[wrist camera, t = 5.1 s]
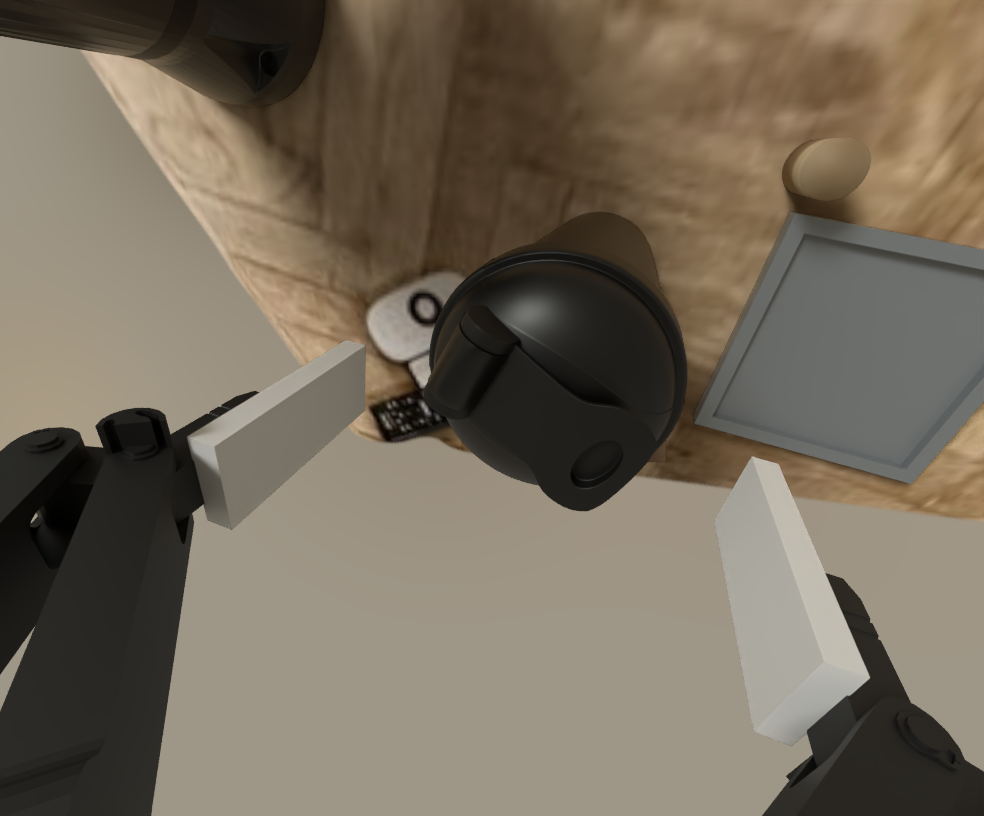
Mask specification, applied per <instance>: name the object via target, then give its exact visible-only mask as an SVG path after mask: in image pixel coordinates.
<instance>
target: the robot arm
mask: <svg viewBox="0 0 984 816" xmlns="http://www.w3.org/2000/svg"><path fill="white" fill-rule="evenodd" d="M324 3H325V0H0V36H4V37H10V38H16V39H22V40H28V41H34V42H40V43H47V44H52V45H58V46H64V47H70V48H76V49H82V50H88V51H94V52H100V53H106V54H112V55H120V56H125V57H130V58H135V59H140V60H143V61H144V62H146V63H148V64H150V65H151V66H153V67H155V68H157V69H158V70H160V71H162V72H164V73H165V74H167V75H169V76H171V77H172V78H174V79H176V80H178V81H179V82H181V83H183V84H185V85H186V86H188V87H190V88H192V89H193V90H195V91H197V92H199V93H200V94H202V95H204V96H207V97H209V98H211V99H214V100H217V101H220V102H224V103H228V104H236V105H244V106H256V107H257V106H266V105H270V104H273V103H276V102H278V101H280V100H282V99H284V98H285V97H287V96H288V95H289V94H291V93H292V92H293V91H294V90H295V89H296V88H297V87H298V86H299V85H300V83H301V82H302V81H303V79H304V78H305V76H306V75H307V73H308V71H309V69H310V67H311V65H312V63H313V61H314V58H315V55H316V52H317V49H318V46H319V42H320V38H321V33H322V27H323V19H324ZM365 352H366V345H362V344H359V343H355V342H352V341H348V340H345V341H344V342H342V343H340V344H339V345H337V346H335V347H334V348H332V349H331V350H329V351H327V352H326V353H324V354H322V355H321V356H319V357H317V358H316V359H314V360H312V361H311V362H309V363H307V364H306V365H304V366H303V367H301V368H299V369H298V370H296V371H294V372H293V373H291V374H289V375H288V376H286V377H285V378H283V379H281V380H279V381H278V382H276V383H275V384H273V385H271V386H270V387H268V388H266V389H265V390H263V391H261V392H257V391H253V392H249V393H246V394H243V395H239V396H236V397H234V398H233V399H231V400H229V401H228V402H226V403H224V404H222V406H221V407H217V408H215V409H214V410H212V411H210V413H209V414H205V415H203V416H202V417H200V418H198V419H197V420H195V421H193V422H191V423H190V424H188V425H186V426H185V427H183V428H181V429H179V430H178V431H176V432H174V433H173V434H171V435H170V431H169V428H168V424H167V420H166V417H165V415H164V414H163V413H162V412H161V411H159V410H155V409H151V408H133V409H127V410H122V411H119V412H116V413H113V414H111V415H109V416H107V417H105V418H103V419H102V420H101V421H100V422H99V423H98V424H97V425H96V426H95V427H96V429H97V432H98V435H99V437H100V440H101V442H102V445H103V448H101V447H100V448H99V447H89V446H85V445H84V443H83V440H82V438H81V435H80V433H79V432H78V431H76V430H74V429H70V428H63V427H60V428H46V429H42V430H36V431H33V432H31V433H28V434H26V435H23V436H21V437H19V438H17V439H16V440H14V441H13V442H11V443H10V444H8V445H7V446H6V447H5V448H4V449H3V450H1V451H0V674H1V673H2V671H3V670H4V668H5V667H6V666H7V664H8V663H9V661H10V660H11V659H12V657H13V656H14V655H15V653H16V652H17V650H18V649H19V648H20V646H21V645H22V643H23V642H24V641H25V639H26V638H27V636H28V635H29V633H30V632H31V631H32V629H33V628H34V627H35V628H34V631H33V633H32V636H31V638H30V641H29V643H28V645H27V648H26V650H25V653H24V655H23V658H22V660H21V662H20V665H19V667H18V670H17V672H16V674H15V677H14V679H13V682H12V684H11V687H10V689H9V691H8V694H7V696H6V699H5V701H4V704H3V706H2V709H1V711H0V816H151V812H152V804H153V797H154V791H155V784H156V777H157V770H158V763H159V756H160V749H161V743H162V736H163V729H164V722H165V716H166V709H167V702H168V695H169V689H170V682H171V675H172V669H173V668H172V667H173V662H174V655H175V648H176V641H177V635H178V628H179V621H180V614H181V607H182V601H183V593H184V587H185V579H186V573H187V567H188V560H189V553H190V546H191V539H192V532H193V526H194V520H193V515H192V513H193V512H194V511H195V510H197V509H198V508H199V507H200V506H202V505H203V504H204V508H205V512H206V516H207V520H208V521H210V522H213V523H216V524H218V525H221V526H223V527H226V528H229V529H231V530H232V529H233V528H235V527H236V526H237V525H238V524H239V523H240V522H241V521H242V520H243V519H245V518H246V517H247V516H248V515H249V514H250V513H251V512H252V511H253V510H255V509H256V508H257V507H258V506H259V505H260V504H261V503H262V502H263V501H265V500H266V499H267V498H268V497H269V496H270V495H271V494H272V493H273V492H275V491H276V490H277V489H278V488H279V487H280V486H281V485H282V484H283V483H284V482H286V481H287V480H288V479H289V478H290V477H291V476H292V475H293V474H295V473H296V472H297V471H298V470H299V469H300V468H301V467H302V466H304V465H305V464H306V463H307V462H308V461H309V460H310V459H311V458H312V457H314V456H315V455H316V454H317V453H318V452H319V451H320V450H321V449H323V448H324V447H325V446H326V445H327V444H328V443H329V442H330V441H331V440H333V439H334V438H335V437H336V436H337V435H338V434H339V433H340V432H341V431H342V430H344V429H345V428H346V427H347V426H348V425H349V424H350V423H352V422H353V421H354V420H355V419H356V418H357V417H358V416H359V415H360V414H362V413H363V412H364V411H365ZM35 513H37V515H38V517H37V518H36V519H35V520H34V521H33V522H32V523H31V520H32V518H33V517H34V515H35ZM714 522H715V527H716V533H717V538H718V544H719V549H720V554H721V560H722V565H723V570H724V576H725V581H726V586H727V592H728V597H729V602H730V608H731V613H732V619H733V624H734V629H735V634H736V640H737V645H738V651H739V656H740V661H741V667H742V672H743V678H744V683H745V688H746V693H747V698H748V704H749V709H750V715H751V721H752V725H753V731H754V732H756V733H758V734H761V735H763V736H766V737H769V738H771V739H774V740H777V741H779V742H782V743H784V744H787V745H790V746H793V745H794V744H795V743H796V742H797V741H798V740H799V739H801V738H802V737H803V736H804V735H805V734H806V733H807V734H808V738H809V741H810V745H811V749H812V752H813V755H812V756H810V757H809V758H808V759H807V760H805V761H804V762H803V763H802V764H800V765H799V766H798V767H797V768H795V769H794V770H793V771H792V772H791V773H789V774H788V775H787V776H786V777H787V778H788V779H789V780H790V781H789V782H788V783H787V784H786V786H785V787H784V788H783V790H782V791H781V792H780V793H779V795H778V796H777V797H776V799H775V800H774V801H773V802H772V804H771V805H770V806H769V808H768V809H767V810H766V811H765V813H764V814H763V815H762V816H984V772H983V771H982V770H980V769H979V768H977V767H975V766H974V765H972V764H970V763H969V762H967V761H966V760H965V759H964V757H963V755H962V752H961V750H960V748H959V747H958V745H957V744H956V743H955V741H954V740H953V739H952V737H951V736H950V735H949V733H948V732H947V731H946V730H945V729H944V728H943V727H942V726H941V725H940V724H939V723H938V722H937V721H936V720H935V719H934V718H932V716H930V715H929V714H927V713H926V712H924V711H923V710H921V709H920V708H919V707H917V706H916V705H914V704H912V703H911V702H910V700H909V698H908V696H907V694H906V692H905V690H904V687H903V685H902V683H901V681H900V680H899V677H898V675H897V673H896V671H895V669H894V667H893V665H892V663H891V661H890V659H889V657H888V655H887V652H886V650H885V648H884V646H883V644H882V642H881V641H880V640H878V637H879V636H878V634H877V632H876V630H875V628H874V626H873V624H872V623H870V617H869V615H868V613H867V611H866V609H865V607H864V605H863V603H862V601H861V599H860V598H859V597H858V595H857V594H856V593H855V592H854V591H853V590H852V589H851V588H850V586H849V585H848V584H847V583H846V582H845V581H844V579H842V578H839V577H836V576H833V575H830V574H826V573H825V572H824V569H823V567H822V565H821V562H820V560H819V558H818V555H817V553H816V551H815V548H814V546H813V544H812V541H811V539H810V537H809V534H808V532H807V530H806V527H805V525H804V523H803V520H802V518H801V516H800V513H799V511H798V509H797V507H796V504H795V502H794V499H793V497H792V495H791V492H790V490H789V488H788V485H787V483H786V481H785V478H784V476H783V474H782V472H781V469H780V467H779V465H778V464H776V463H773V462H769V461H766V460H763V459H759V458H756V457H751V459H750V460H749V462H748V464H747V465H746V467H745V469H744V471H743V472H742V474H741V476H740V477H739V479H738V481H737V482H736V484H735V486H734V488H733V489H732V491H731V493H730V494H729V496H728V498H727V499H726V501H725V503H724V505H723V506H722V508H721V510H720V512H719V513H718V515H717V516H716V518H715V520H714ZM35 625H36V626H35Z"/></svg>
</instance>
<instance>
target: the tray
mask: <svg viewBox="0 0 984 816" xmlns="http://www.w3.org/2000/svg"><path fill="white" fill-rule="evenodd" d="M983 402H984V249H981V248H976V247H971V246H966V245H961V244H956V243H951V242H945V241H940V240H935V239H930V238H925V237H920V236H915V235H910V234H904V233H899V232H894V231H889V230H884V229H879V228H874V227H869V226H864V225H858V224H853V223H848V222H843V221H838V220H833V219H828V218H823V217H817V216H812V215H807V214H802V213H797V212H792V211H790V212H789V214H788V216H787V218H786V221H785V223H784V225H783V227H782V229H781V231H780V233H779V235H778V237H777V240H776V242H775V244H774V246H773V248H772V250H771V252H770V254H769V256H768V259H767V261H766V263H765V265H764V267H763V269H762V271H761V273H760V275H759V277H758V280H757V282H756V284H755V286H754V288H753V290H752V292H751V294H750V296H749V299H748V301H747V303H746V305H745V307H744V309H743V311H742V313H741V315H740V317H739V320H738V322H737V324H736V326H735V328H734V330H733V332H732V334H731V336H730V339H729V341H728V343H727V345H726V347H725V349H724V351H723V353H722V355H721V358H720V360H719V362H718V364H717V366H716V368H715V370H714V372H713V374H712V376H711V379H710V381H709V383H708V385H707V387H706V389H705V391H704V393H703V395H702V398H701V400H700V402H699V404H698V406H697V408H696V410H695V412H694V414H693V419H694V424H698V425H701V426H705V427H708V428H712V429H716V430H719V431H723V432H726V433H730V434H734V435H737V436H741V437H744V438H748V439H751V440H755V441H759V442H762V443H766V444H769V445H773V446H777V447H780V448H784V449H787V450H791V451H795V452H798V453H802V454H805V455H809V456H812V457H816V458H820V459H823V460H827V461H830V462H834V463H838V464H841V465H845V466H848V467H852V468H856V469H859V470H863V471H866V472H870V473H874V474H877V475H881V476H884V477H888V478H891V479H895V480H899V481H902V482H906V483H909V484H912V483H913V482H914V481H915V479H916V478H917V477H918V476H919V475H920V474H921V473H922V471H923V470H924V469H925V468H926V467H927V466H928V465H929V463H930V462H931V461H932V460H933V459H934V458H935V457H936V455H937V454H938V453H939V452H940V451H941V450H942V449H943V447H944V446H945V445H946V444H947V443H948V442H949V441H950V439H951V438H952V437H953V436H954V435H955V434H956V433H957V431H958V430H959V429H960V428H961V427H962V426H963V425H964V423H965V422H966V421H967V420H968V419H969V418H970V417H971V415H972V414H973V413H974V412H975V411H976V410H977V409H978V407H979V406H980V405H981V404H982V403H983Z"/></svg>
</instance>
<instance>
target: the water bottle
mask: <svg viewBox="0 0 984 816" xmlns="http://www.w3.org/2000/svg"><path fill="white" fill-rule="evenodd" d="M429 366H430V370H431V375H430V377H429V379H428V383H427V385H426V386H425V388H424V398H425V400H426V402H427V403H428V405H429V406H430V407H431V408H432V409H433V410H434V411H436V412H437V413H438V414H440V415H442V416H444V417H446V418H447V420H448V422H449V424H450V426H451V427H452V429H453V430H454V432H455V433H456V435H457V436H458V437H459V439H460V440H461V441H462V442H463V443H464V445H465V446H466V447H467V448H468V449H469V450H470V451H471V452H472V453H473V454H475V455H476V456H477V457H478V458H479V459H481V460H482V461H483V462H485V463H486V464H487V465H489V466H490V467H492V468H494V469H495V470H497V471H499V472H501V473H503V474H505V475H507V476H509V477H511V478H514V479H517V480H520V481H523V482H526V483H530V484H534V485H539V486H540V488H541V489H542V491H543V492H544V493H545V494H546V495H547V496H548V497H549V498H551V499H552V500H553V501H555V502H556V503H558V504H560V505H562V506H563V507H566V508H568V509H571V510H576V511H589V510H591V509H594V508H596V507H598V506H600V505H601V504H603V503H604V502H606V501H607V500H608V499H610V498H611V497H612V496H613V495H614V494H616V493H617V492H618V491H619V490H620V489H621V488H622V487H624V486H625V485H626V484H627V483H628V482H629V481H630V480H631V479H632V478H633V477H634V476H635V475H636V474H637V473H638V472H639V471H640V470H641V469H642V468H643V467H644V465H645V464H646V463H647V462H648V461H649V459H650V458H651V456H652V455H653V453H655V452H656V451H657V450H658V449H659V447H660V446H661V445H662V444H663V443H664V442H665V440H666V439H667V438H668V436H669V435H670V433H671V432H672V430H673V428H674V427H675V425H676V423H677V421H678V419H679V416H680V414H681V411H682V408H683V405H684V402H685V393H686V386H687V360H686V354H685V349H684V344H683V339H682V334H681V330H680V327H679V324H678V321H677V319H676V316H675V314H674V312H673V310H672V308H671V306H670V304H669V303H668V301H667V299H666V298H665V296H664V295H663V294H662V292H661V287H660V284H659V280H658V276H657V272H656V268H655V264H654V260H653V256H652V252H651V248H650V246H649V243H648V241H647V239H646V238H645V236H644V235H643V233H642V232H641V231H640V230H639V229H638V228H637V227H636V226H635V225H634V224H633V223H631V222H630V221H628V220H627V219H625V218H623V217H621V216H618V215H615V214H611V213H604V212H595V213H588V214H584V215H581V216H578V217H575V218H573V219H571V220H570V221H568V222H567V223H565V224H563V225H562V226H560V227H559V228H557V229H556V230H554V231H553V232H551V233H550V234H548V235H546V236H545V237H543V238H542V239H540V240H539V241H537V242H536V243H534V244H530V245H526V246H523V247H519V248H516V249H514V250H511V251H509V252H507V253H504V254H502V255H500V256H499V257H497V258H493V259H492V260H490V261H489V262H488V263H486V264H485V265H483V266H482V267H480V268H479V269H478V270H476V271H475V272H473V273H472V274H471V275H470V276H468V277H467V278H466V279H465V280H464V281H463V282H462V283H461V284H460V285H459V286H458V287H457V288H456V290H455V291H454V292H453V293H452V295H451V296H450V297H449V299H448V300H447V302H446V304H445V305H444V307H443V309H442V311H441V312H440V315H439V317H438V319H437V322H436V324H435V327H434V331H433V334H432V339H431V344H430V355H429Z"/></svg>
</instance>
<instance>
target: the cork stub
mask: <svg viewBox="0 0 984 816" xmlns="http://www.w3.org/2000/svg"><path fill="white" fill-rule="evenodd" d="M870 162H871V157H870V152H869V149H868V147H867V146H866V145H865V144H864V143H863V142H862V141H860V140H858V139H856V138H851V137H842V138H830V139H817V140H811V141H808V142H806V143H804V144H802V145H800V146H799V147H797V148H796V149H795V150H794V151H793V152H792V153H791V154H790V155H789V157H788V158H787V160H786V162H785V164H784V166H783V170H782V179H783V183H784V185H785V187H786V188H787V189H788V190H789V191H791V192H793V193H795V194H799V195H803V196H806V197H810V198H814V199H818V200H822V201H831V200H836V199H839V198H842V197H844V196H846V195H848V194H849V193H851V192H852V191H853V190H855V189H856V188H857V187H858V186H859V185H860V184H861V183H862V181H863V180H864V178H865V177H866V175H867V173H868V170H869V167H870Z"/></svg>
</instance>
